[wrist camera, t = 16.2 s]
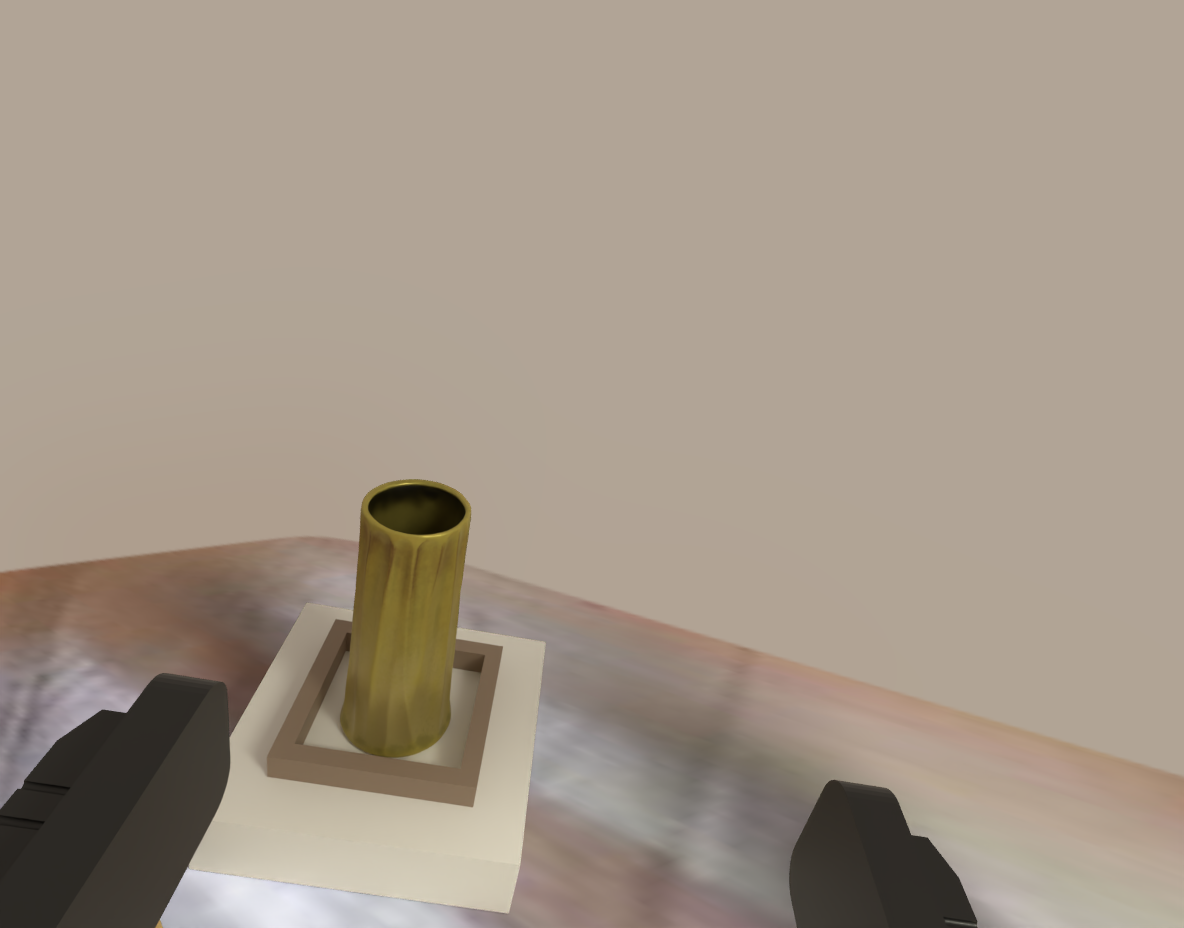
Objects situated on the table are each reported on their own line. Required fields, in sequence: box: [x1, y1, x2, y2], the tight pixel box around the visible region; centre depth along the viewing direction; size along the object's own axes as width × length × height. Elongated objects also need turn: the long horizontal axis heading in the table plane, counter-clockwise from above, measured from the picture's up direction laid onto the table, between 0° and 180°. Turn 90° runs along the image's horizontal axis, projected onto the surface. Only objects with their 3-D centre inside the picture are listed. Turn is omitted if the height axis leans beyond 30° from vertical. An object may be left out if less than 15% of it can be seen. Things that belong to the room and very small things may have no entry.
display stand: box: [189, 603, 546, 914], centre depth 44 cm, size 16×16×6 cm
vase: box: [340, 479, 471, 758], centre depth 39 cm, size 6×6×14 cm
